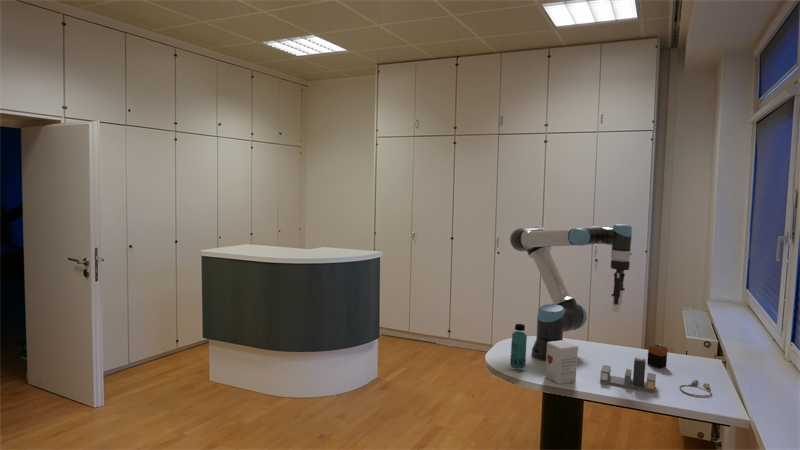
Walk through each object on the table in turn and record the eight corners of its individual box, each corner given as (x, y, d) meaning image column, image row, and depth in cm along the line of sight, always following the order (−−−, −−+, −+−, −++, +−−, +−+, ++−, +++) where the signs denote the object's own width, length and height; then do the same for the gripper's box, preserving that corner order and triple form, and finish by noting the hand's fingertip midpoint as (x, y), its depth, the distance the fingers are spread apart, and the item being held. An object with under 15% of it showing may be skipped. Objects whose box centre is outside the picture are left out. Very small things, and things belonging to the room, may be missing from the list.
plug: (632, 384, 211) (634, 358, 210) (633, 381, 215) (635, 356, 214) (643, 386, 209) (645, 360, 208) (644, 383, 213) (645, 357, 212)
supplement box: (544, 376, 220) (546, 341, 218) (561, 373, 224) (563, 339, 222) (559, 384, 212) (561, 348, 210) (576, 381, 215) (578, 346, 214)
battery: (660, 369, 232) (661, 346, 231) (646, 364, 238) (648, 342, 237) (666, 367, 234) (668, 345, 233) (653, 362, 240) (654, 341, 239)
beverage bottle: (513, 366, 231) (515, 321, 229) (527, 369, 227) (530, 324, 225) (507, 370, 226) (509, 324, 224) (521, 374, 222) (524, 327, 220)
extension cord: (725, 394, 208) (725, 389, 207) (698, 400, 201) (698, 395, 201) (696, 383, 219) (697, 378, 218) (670, 388, 212) (670, 383, 212)
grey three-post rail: (600, 382, 215) (600, 371, 214) (602, 376, 222) (603, 364, 221) (654, 393, 205) (655, 380, 205) (655, 386, 213) (655, 374, 212)
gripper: (627, 264, 215) (624, 315, 217) (631, 257, 237) (628, 303, 239) (608, 263, 219) (604, 313, 221) (613, 255, 241) (610, 301, 243)
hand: (617, 308), depth 230 cm, fingers open, 13 cm apart
